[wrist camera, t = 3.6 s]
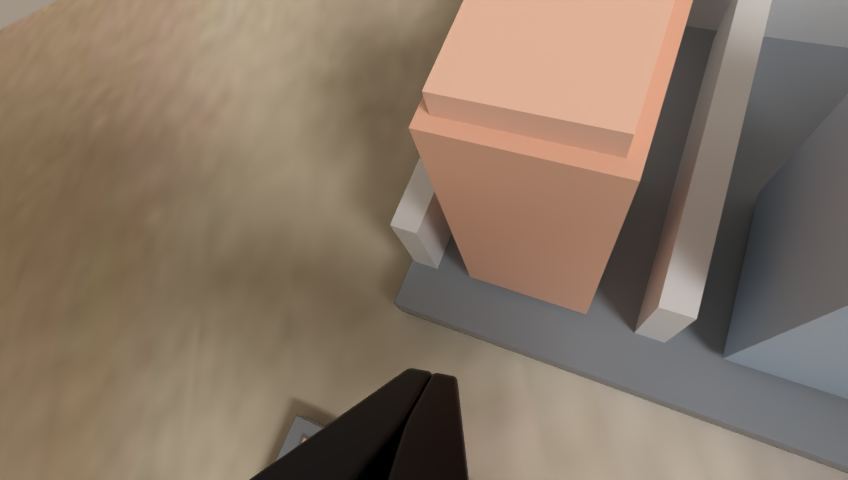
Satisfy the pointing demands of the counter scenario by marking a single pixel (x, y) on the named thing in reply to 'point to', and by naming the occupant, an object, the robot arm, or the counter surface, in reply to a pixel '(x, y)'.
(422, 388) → the robot arm
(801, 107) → the grey divided tray
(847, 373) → the pale blue block
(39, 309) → the counter surface
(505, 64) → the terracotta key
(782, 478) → the counter surface
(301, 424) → the tile
